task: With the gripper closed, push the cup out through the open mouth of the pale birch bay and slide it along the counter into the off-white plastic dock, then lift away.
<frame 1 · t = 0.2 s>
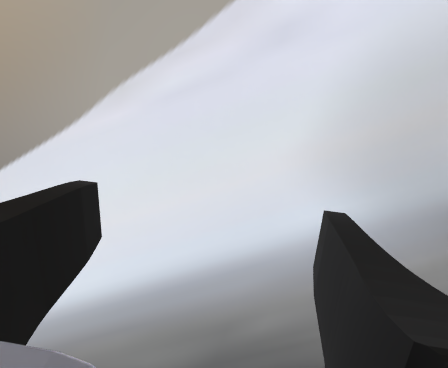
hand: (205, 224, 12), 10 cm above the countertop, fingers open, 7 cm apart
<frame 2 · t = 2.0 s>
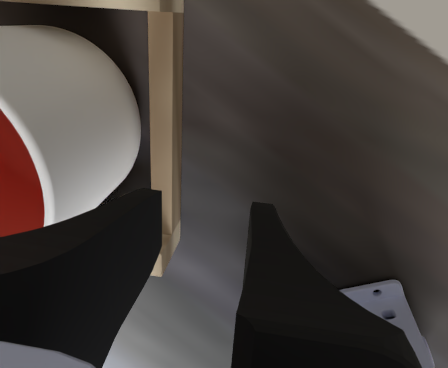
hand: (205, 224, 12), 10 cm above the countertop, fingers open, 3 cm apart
cup: (69, 114, 23), on the countertop
bay: (66, 115, 23), on the countertop
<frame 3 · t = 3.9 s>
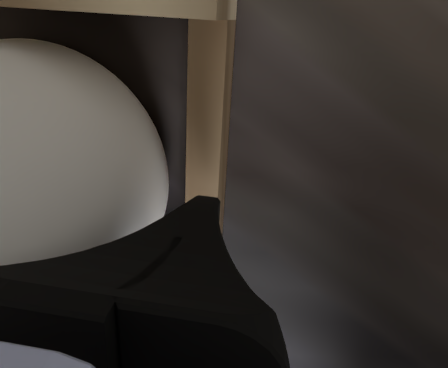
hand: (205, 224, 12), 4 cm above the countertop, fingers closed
cup: (67, 158, 17), on the countertop, touching gripper
bay: (65, 160, 16), on the countertop
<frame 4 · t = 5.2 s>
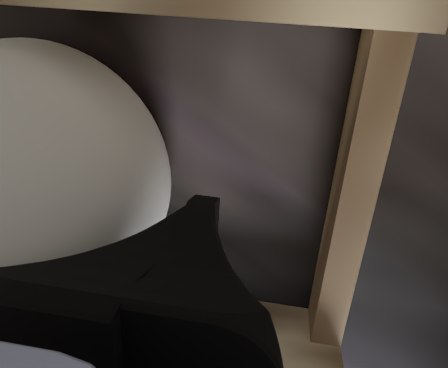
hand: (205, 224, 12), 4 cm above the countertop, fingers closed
cup: (69, 158, 17), on the countertop, touching gripper
bay: (187, 173, 16), on the countertop
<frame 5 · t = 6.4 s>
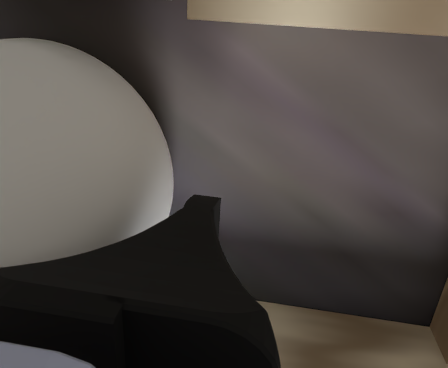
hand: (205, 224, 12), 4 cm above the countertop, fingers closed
cup: (72, 158, 17), on the countertop, touching gripper
bay: (318, 189, 15), on the countertop
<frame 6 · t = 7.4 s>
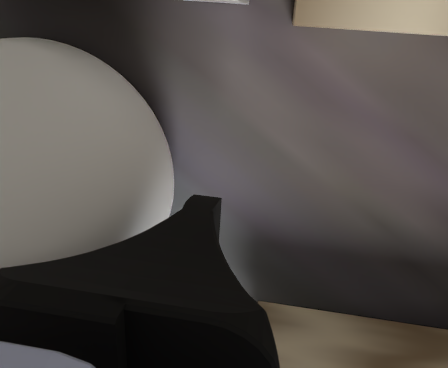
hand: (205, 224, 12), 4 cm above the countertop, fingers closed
cup: (72, 158, 17), on the countertop, touching gripper
bay: (387, 197, 15), on the countertop
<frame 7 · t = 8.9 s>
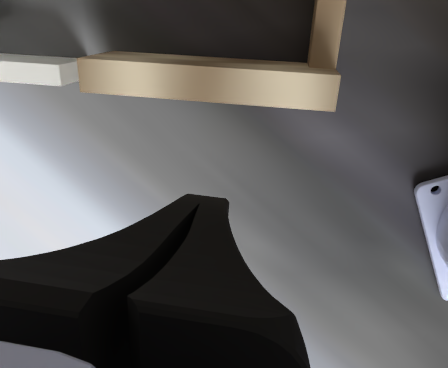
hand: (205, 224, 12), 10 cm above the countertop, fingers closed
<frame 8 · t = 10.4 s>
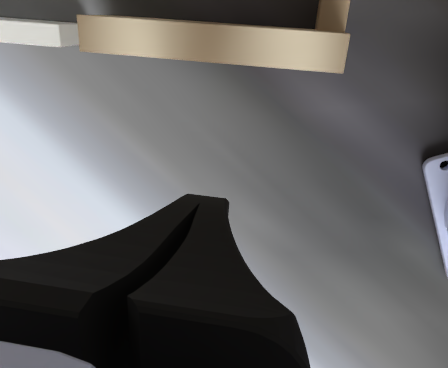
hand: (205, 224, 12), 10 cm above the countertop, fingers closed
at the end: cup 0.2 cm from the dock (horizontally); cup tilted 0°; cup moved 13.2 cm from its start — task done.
